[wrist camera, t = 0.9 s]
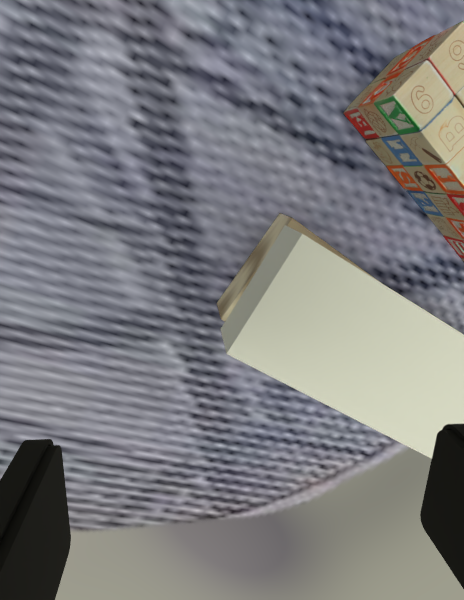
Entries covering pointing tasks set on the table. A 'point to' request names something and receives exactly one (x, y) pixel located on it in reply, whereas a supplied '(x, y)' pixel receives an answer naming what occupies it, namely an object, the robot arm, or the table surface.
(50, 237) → the table surface
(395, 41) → the table surface
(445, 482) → the robot arm
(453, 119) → the stack of blocks
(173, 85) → the table surface
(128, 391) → the table surface
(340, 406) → the upper slab
